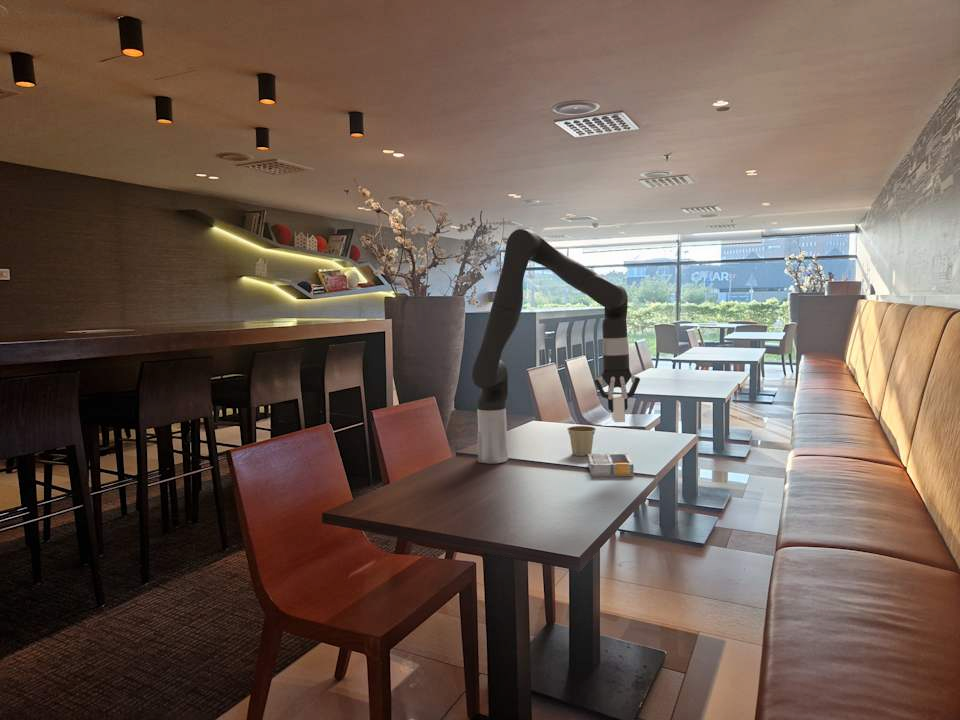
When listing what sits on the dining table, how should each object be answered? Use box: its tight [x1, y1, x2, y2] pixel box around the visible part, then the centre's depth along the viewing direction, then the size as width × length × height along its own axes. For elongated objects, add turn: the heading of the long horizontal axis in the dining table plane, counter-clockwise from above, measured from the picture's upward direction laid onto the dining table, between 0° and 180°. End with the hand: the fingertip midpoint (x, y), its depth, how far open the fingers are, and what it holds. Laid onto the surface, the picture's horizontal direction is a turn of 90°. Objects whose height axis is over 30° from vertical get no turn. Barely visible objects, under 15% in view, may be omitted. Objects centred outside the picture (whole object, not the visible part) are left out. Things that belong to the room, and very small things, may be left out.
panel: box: [611, 393, 626, 423], centre depth 184 cm, size 3×8×7 cm, turn 174°
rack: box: [587, 452, 634, 478], centre depth 186 cm, size 12×13×4 cm
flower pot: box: [567, 425, 597, 457], centre depth 207 cm, size 9×9×9 cm
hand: (618, 411), depth 184 cm, fingers closed on panel, 3 cm apart
